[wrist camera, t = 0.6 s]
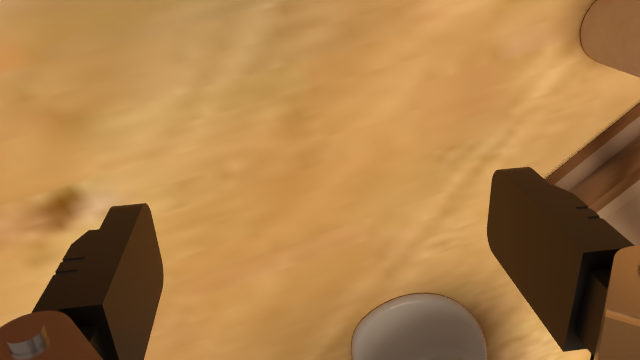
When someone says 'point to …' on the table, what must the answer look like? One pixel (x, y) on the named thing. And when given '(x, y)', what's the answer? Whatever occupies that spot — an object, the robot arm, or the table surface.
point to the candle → (613, 34)
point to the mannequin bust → (419, 331)
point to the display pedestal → (609, 175)
